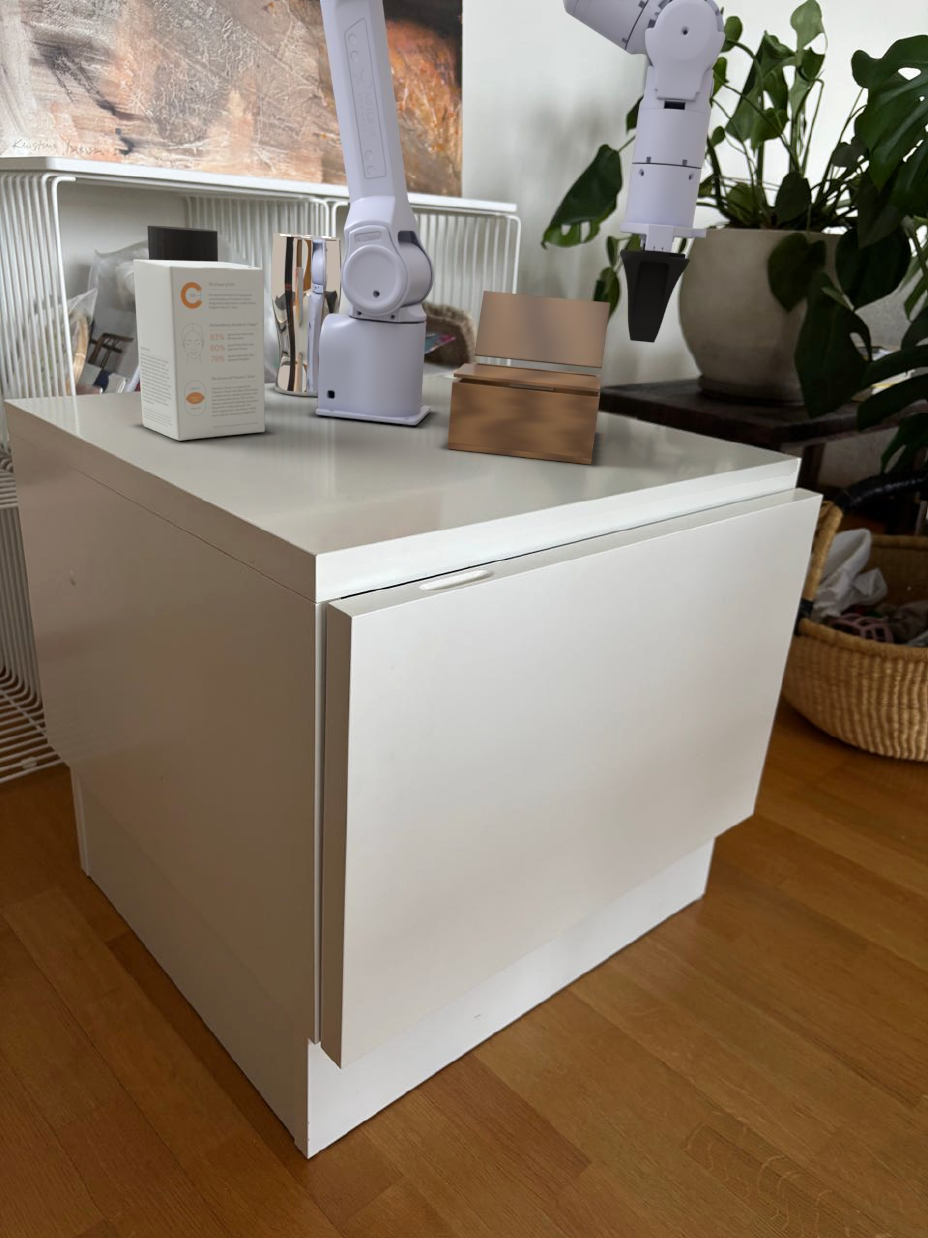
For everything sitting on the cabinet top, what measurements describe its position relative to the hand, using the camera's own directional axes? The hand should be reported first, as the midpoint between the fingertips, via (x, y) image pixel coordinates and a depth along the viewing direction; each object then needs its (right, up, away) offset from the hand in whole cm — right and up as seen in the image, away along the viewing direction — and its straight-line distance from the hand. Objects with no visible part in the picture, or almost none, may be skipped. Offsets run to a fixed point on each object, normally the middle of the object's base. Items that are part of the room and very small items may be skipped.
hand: (641, 338), depth 84 cm
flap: (-8, +3, +6) cm, 10 cm away
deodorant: (-41, -4, +6) cm, 42 cm away
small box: (-37, -9, -4) cm, 38 cm away
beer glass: (-32, -1, +16) cm, 36 cm away
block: (-10, -7, +4) cm, 13 cm away
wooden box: (-10, -9, +2) cm, 13 cm away
